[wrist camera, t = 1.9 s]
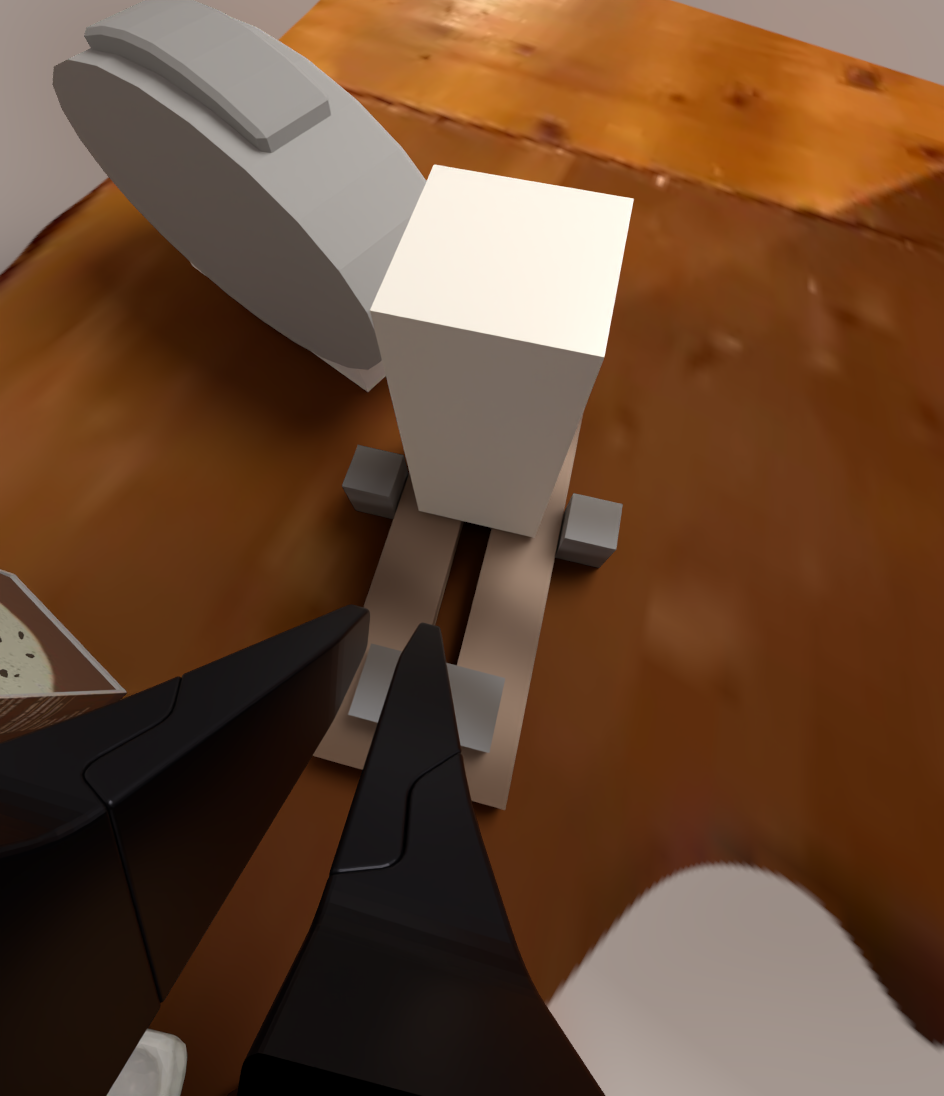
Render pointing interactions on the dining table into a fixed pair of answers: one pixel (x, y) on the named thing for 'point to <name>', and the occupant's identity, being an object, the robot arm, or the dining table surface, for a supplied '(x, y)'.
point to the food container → (43, 666)
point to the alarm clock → (248, 168)
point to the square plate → (153, 1067)
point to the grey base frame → (494, 623)
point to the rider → (496, 337)
